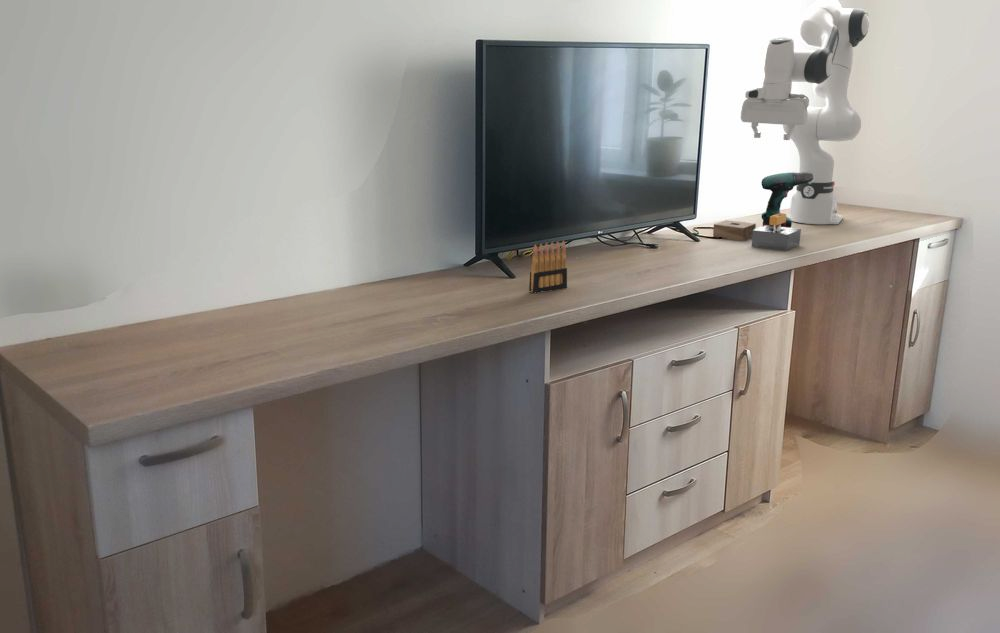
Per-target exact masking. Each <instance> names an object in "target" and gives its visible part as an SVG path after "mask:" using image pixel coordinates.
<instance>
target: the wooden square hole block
mask: <svg viewBox="0 0 1000 633" xmlns="http://www.w3.org/2000/svg"><path fill="white" fill-rule="evenodd" d="M756 226H757V224H756V223H753V222H745V221H736V220H731V219H729V220H728V219H725V220H722V221H719V222H717V223H714V224H713V230H712V232H713V233H712V237H713V236H714V237H713V238H719V237H722V238H721V239H728V240H733V241H746V240H748V239H750V238H751V239H752V235H753V230H755V229H757V228H756Z"/></svg>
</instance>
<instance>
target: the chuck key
mask: <svg viewBox="0 0 1000 633" xmlns="http://www.w3.org/2000/svg"><path fill="white" fill-rule="evenodd" d="M786 215H788V214H787V213H781V212H780V213H778V214H775V215H773V216H770V222H769V225H774V231H780V229H781V224H782V223H784V222H786Z"/></svg>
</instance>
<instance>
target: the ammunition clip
mask: <svg viewBox="0 0 1000 633" xmlns="http://www.w3.org/2000/svg"><path fill="white" fill-rule="evenodd" d="M544 244H545V245H544V247H543V243H540V244H539V247H538V246H537V244H534V246H533V249H532V257H531V258H532V259H531V270H530V273H529V285H528V286H529V287H528V288H529V289H528V292H529V291H531V292H533V293H532V294H534V293H535V292H541V291H547V292H550V291H549V290H552V291H556V289H558V290H563V288H564V289H568V268H567V255H566V254H567V252H566V249H567V248H566V247H567V246H566V242H565V240H562V243H561V246H560V242H559V240H558V241H557V242H556V244H554V242H553V241H551V243H550V246H549V244H548V242H545V243H544ZM531 292H530V293H531ZM541 293H542V292H541ZM535 294H536V293H535Z"/></svg>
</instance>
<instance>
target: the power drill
mask: <svg viewBox="0 0 1000 633" xmlns="http://www.w3.org/2000/svg"><path fill="white" fill-rule="evenodd" d="M813 177H814V175H813V174H812V173H809V172H801V173H799V172H795V171H793V172H781V173H775V174H772V175H771V174H770V175H767V176H765V177H764V178H763V179H761V187H762V189H763V190H768V191H771V195H770V197H769V199H768V201H767V206H766V210H765V212H763V213H762V214H761V219H762V227H763V226H765V225H769V222H770V216H773V215H775V214H778V213H781V212H780V211H781V206H782V205H781V204H782V202H783V200H784V199H786V198H788V194H789V192H790V191H792V190H793V189H794V188H795V187H797V186H796V185H799V184H803V183H807V182H810V181H812V180H813ZM792 222H793V221H792V220H791V219H790V218H788V217H786V222H784V223H782V224H781V227H786V228H792V224H793V223H792ZM770 226H774V225H770Z"/></svg>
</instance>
